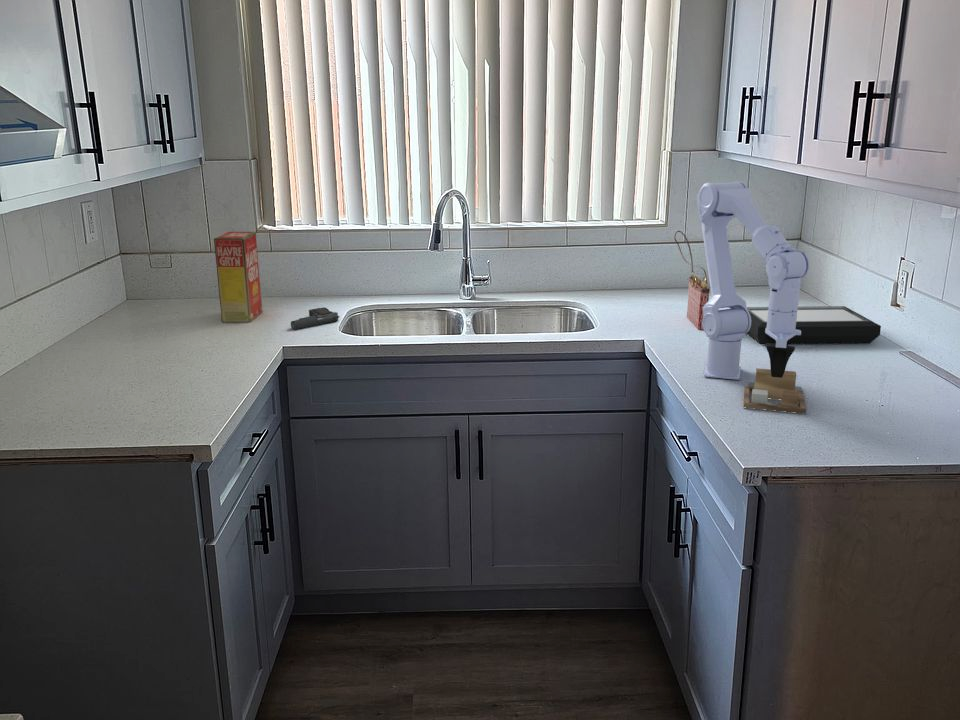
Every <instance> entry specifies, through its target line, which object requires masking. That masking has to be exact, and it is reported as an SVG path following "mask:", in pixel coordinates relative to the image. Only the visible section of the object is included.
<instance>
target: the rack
mask: <svg viewBox="0 0 960 720" xmlns="http://www.w3.org/2000/svg"><path fill="white" fill-rule="evenodd" d="M743 388H744V389H743V408H744V407H746V408H755V409H754V410H756V409H766V410H776V411H786V412H796V413H806V414H807V408H806V402H805V396H804V392H803V390H802V391H801V390H795V391H798V392H799V400H798V402H799V403H798V407H789V406H781V405H777V404H768V403H767V404H758V403H751V402H750V392H749V391H752V390H753V389H754V386H749V385H744V387H743ZM766 410H765V411H766ZM776 411H775V412H776ZM786 412H785V413H786ZM796 413H795V414H796Z"/></svg>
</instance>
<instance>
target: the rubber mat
mask: <svg viewBox="0 0 960 720" xmlns="http://www.w3.org/2000/svg"><path fill="white" fill-rule="evenodd" d="M748 386H755V381H753V382H752V381H749V382H748ZM802 389H803V388H802V386H799V385H795V390H801V391H803V390H802Z"/></svg>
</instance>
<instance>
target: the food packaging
mask: <svg viewBox="0 0 960 720" xmlns="http://www.w3.org/2000/svg"><path fill="white" fill-rule="evenodd" d="M213 243H214V254H215V265H216V274H217V285H218V295H219V297H218V298H219V306H220V316H221V317H220V319H221V321H220V322H221V323H252V322H253V321H254V320H255V319H257V318H258V317H259V316H260V315H261V314H262V313H263V310H264V309H263V302H262V301H263V300H262V292H261V290H262V289H261V279H260V269H259V268H260V267H259V266H260V264H259V255H258V245H257V232H256V231H227V232H225V233H222V234H221V235H219V236H217V237H214V238H213Z"/></svg>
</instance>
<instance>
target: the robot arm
mask: <svg viewBox="0 0 960 720" xmlns="http://www.w3.org/2000/svg"><path fill="white" fill-rule="evenodd" d="M696 202H697V208H698V209H697V210H698V215H699V222H700V223H701V232H702V237H703V244H704V252H705V259H706V266H707V272H708V281H709V288H710V293H711V297H710V298H709V301H708V302H707V303H706V304H705V305H704V307H703V321H702V325H703V329H704V330H703V332H704V333H705V335H706V337H708V346H707V349H708V350H707V358H706V359H707V361H706V363H705V367H704V373H703V377H705V378H713V379H726V380H738V381H739V380H740V379H741V366H740V360H741V351H742V349H741V348H742V339H744V338H745V335H746V334H747V332H748V331H749V329H750V327H751V316H750V313H749V312H748V310H747V307H748V306H747V302H746V300H745V299H743V298H742V297H741V296H739V295H738V294H737V291H736V285H735V279H734V271H733V264H732V259H731V258H732V257H731V252H730V249H731V248H730V245H729V239H728V230H727V226H728V225H729V223H730V222H731V221H732V220H734V219H735V218H737V219H738V221H739V222H740V223H741V224H742V225H743V226H744V227H745V228H746V230H748V232H749V233H751V235H752V238H751V244H752V245H753V246H754V248H755V249H756V251H757V252H758V253H759V255H760V256H761V258H762V259H763V260H764V261H765V263H766V264H765V271H766V274H767V277H768V282H767V283H768V287H769V288H770V289H769V298H768V299H769V300H768V306H767V307H768V318H767V327H766V328H765V336H766V338H767V341H768V343H766V345H765V349H766V351H767V353H768V356H769V363H770V364H769V365H770V369H771V375H772V377H779V378H782V377H783V374H784V372H785V371H786V368H787V364H788V362H789V360H790V358H791V355H793V353H794V352H795V350H796V347H795V346H794V345H793V346H791V345H790V344H789V343H790V341H791V339H792V338H793V336H795V335H801V330H796V320H797V310H798V307H799V300H800V291H801V284H802V283H801V281H802V279H803V278H804V277H806V275H807V274H808V272H809V270H810V263H809V258H808V256H807V254H806V253H805V251H803V250H800V249H797V248H795V247H792V246H791V244H790V243H789V242H788V241H787V240H786V238H785V237H784V236H783V234H782V233H781V230H780V228H779V227H778V226H775V225H773V224H772V225H771V224H770V225H768V224H767V223H766V221H765V220H764V219H763V217H762V215H761V214H760V212H759V210H758V209H757V207H756V206H755V204H754V203H753V201H752V190H750V188H748V185H747V184H746V183H745V182H744V181H741V180H737V181H734V182H733V181H732V182H729V181H728V182H705V183H704V184H703V185H702V186H701V188H700V189H699V192H698V194H697V196H696ZM724 308H725V309H724Z"/></svg>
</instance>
